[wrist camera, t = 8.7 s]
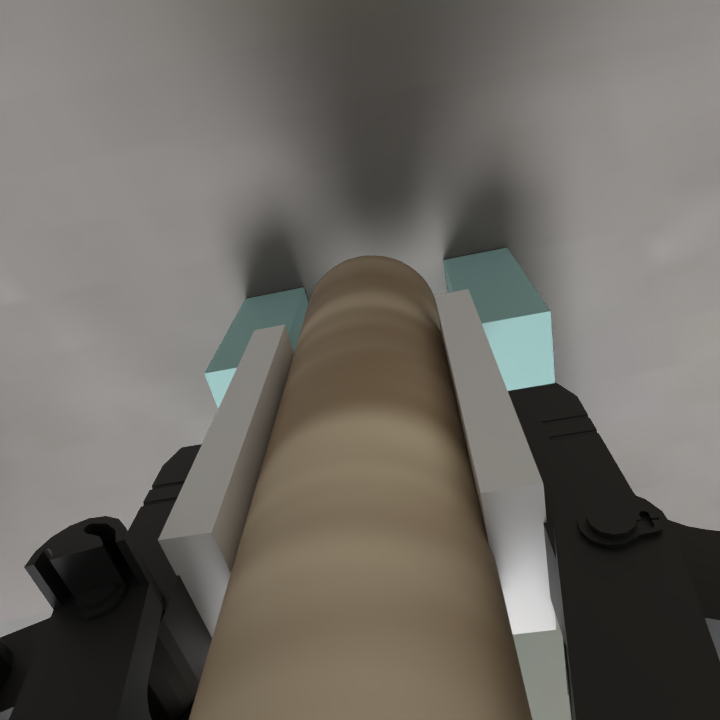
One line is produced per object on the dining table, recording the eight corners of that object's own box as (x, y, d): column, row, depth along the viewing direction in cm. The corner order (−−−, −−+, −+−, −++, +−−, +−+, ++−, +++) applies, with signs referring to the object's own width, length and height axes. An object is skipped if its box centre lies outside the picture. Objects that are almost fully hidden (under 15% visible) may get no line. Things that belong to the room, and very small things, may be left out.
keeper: (245, 298, 20) (204, 373, 16) (507, 247, 19) (550, 311, 14) (321, 529, 26) (308, 639, 21) (531, 500, 25) (569, 609, 20)
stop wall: (330, 605, 28) (312, 820, 20) (556, 577, 27) (631, 796, 19) (348, 655, 30) (337, 871, 22) (560, 631, 29) (630, 852, 21)
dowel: (292, 270, 15) (-317, 1757, 2) (425, 243, 15) (854, 1946, 1) (325, 384, 17) (124, 1606, 4) (446, 362, 16) (735, 1673, 3)
